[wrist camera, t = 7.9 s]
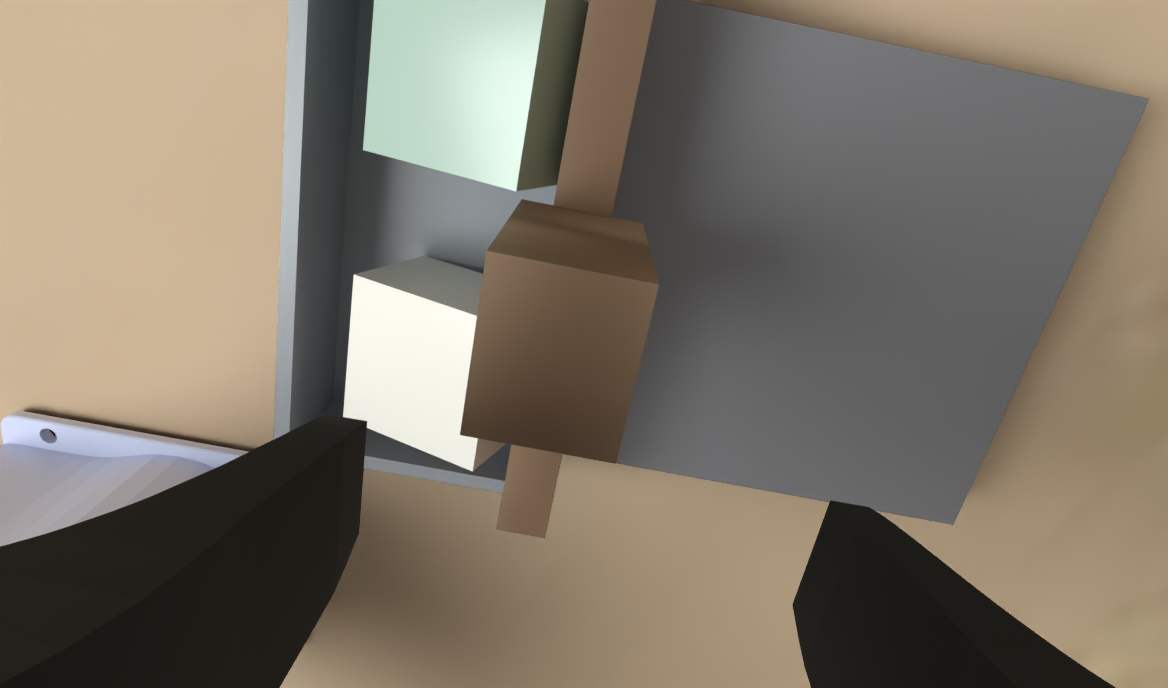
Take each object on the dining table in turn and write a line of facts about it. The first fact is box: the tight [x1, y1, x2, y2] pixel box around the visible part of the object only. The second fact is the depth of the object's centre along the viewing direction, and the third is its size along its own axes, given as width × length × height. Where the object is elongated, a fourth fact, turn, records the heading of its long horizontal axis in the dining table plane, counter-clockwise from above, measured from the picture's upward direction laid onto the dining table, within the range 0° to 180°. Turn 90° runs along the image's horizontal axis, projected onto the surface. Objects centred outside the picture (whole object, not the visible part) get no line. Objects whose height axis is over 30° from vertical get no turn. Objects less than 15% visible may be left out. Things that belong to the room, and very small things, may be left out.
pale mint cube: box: [363, 0, 589, 191], centre depth 16 cm, size 4×4×3 cm
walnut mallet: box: [460, 0, 659, 538], centre depth 14 cm, size 2×13×8 cm, turn 169°
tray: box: [274, 0, 589, 493], centre depth 18 cm, size 6×14×4 cm, turn 169°
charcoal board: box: [612, 0, 1149, 525], centre depth 19 cm, size 12×12×2 cm
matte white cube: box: [343, 256, 506, 472], centre depth 18 cm, size 4×4×3 cm
